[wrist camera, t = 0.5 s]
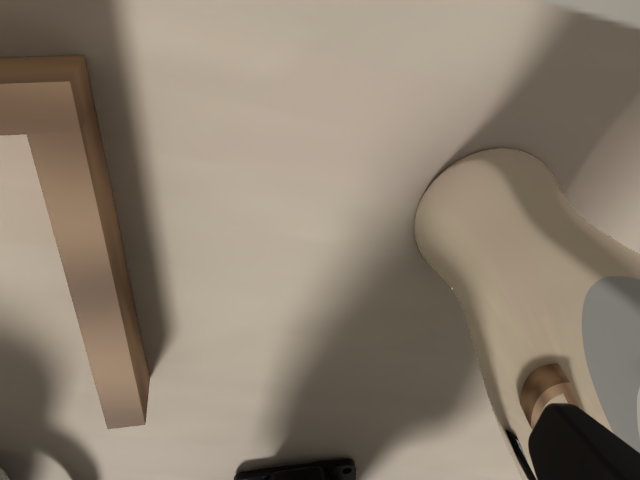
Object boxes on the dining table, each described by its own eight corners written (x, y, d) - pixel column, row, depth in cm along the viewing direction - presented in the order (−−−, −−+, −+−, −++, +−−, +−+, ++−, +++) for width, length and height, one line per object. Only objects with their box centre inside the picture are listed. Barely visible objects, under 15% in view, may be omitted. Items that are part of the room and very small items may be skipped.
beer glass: (451, 113, 22) (771, 464, 10) (597, 162, 24) (1007, 497, 12) (375, 263, 25) (541, 668, 13) (510, 294, 27) (760, 662, 15)
